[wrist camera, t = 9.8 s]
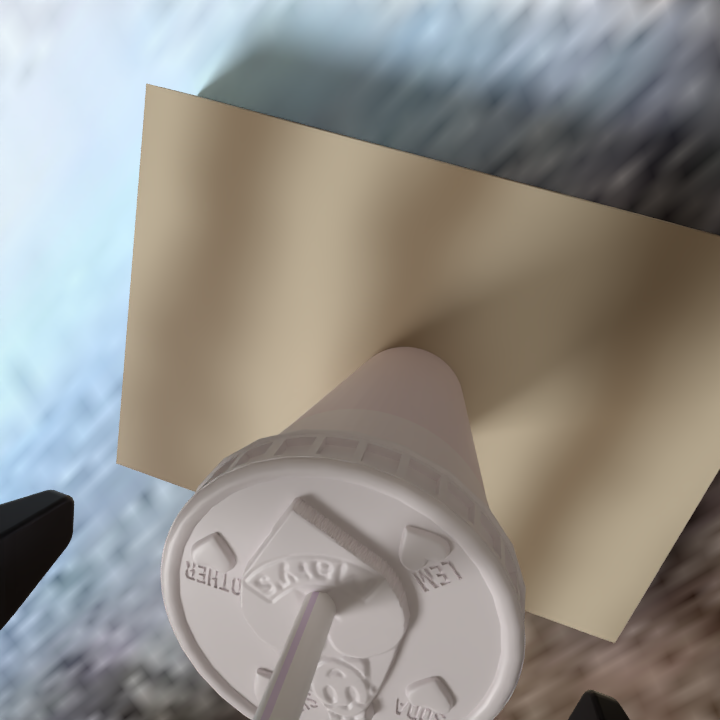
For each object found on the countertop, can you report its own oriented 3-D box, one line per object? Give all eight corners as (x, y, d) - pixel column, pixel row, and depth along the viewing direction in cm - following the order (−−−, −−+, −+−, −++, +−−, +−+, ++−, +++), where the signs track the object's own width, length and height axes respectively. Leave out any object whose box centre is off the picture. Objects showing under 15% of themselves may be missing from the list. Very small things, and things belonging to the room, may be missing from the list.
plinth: (781, 252, 17) (839, 269, 14) (599, 583, 22) (614, 643, 19) (195, 95, 19) (146, 83, 16) (158, 429, 24) (116, 463, 22)
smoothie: (494, 291, 16) (532, 773, 3) (517, 479, 18) (600, 1271, 5) (295, 320, 18) (-206, 713, 5) (335, 489, 20) (46, 1100, 7)
